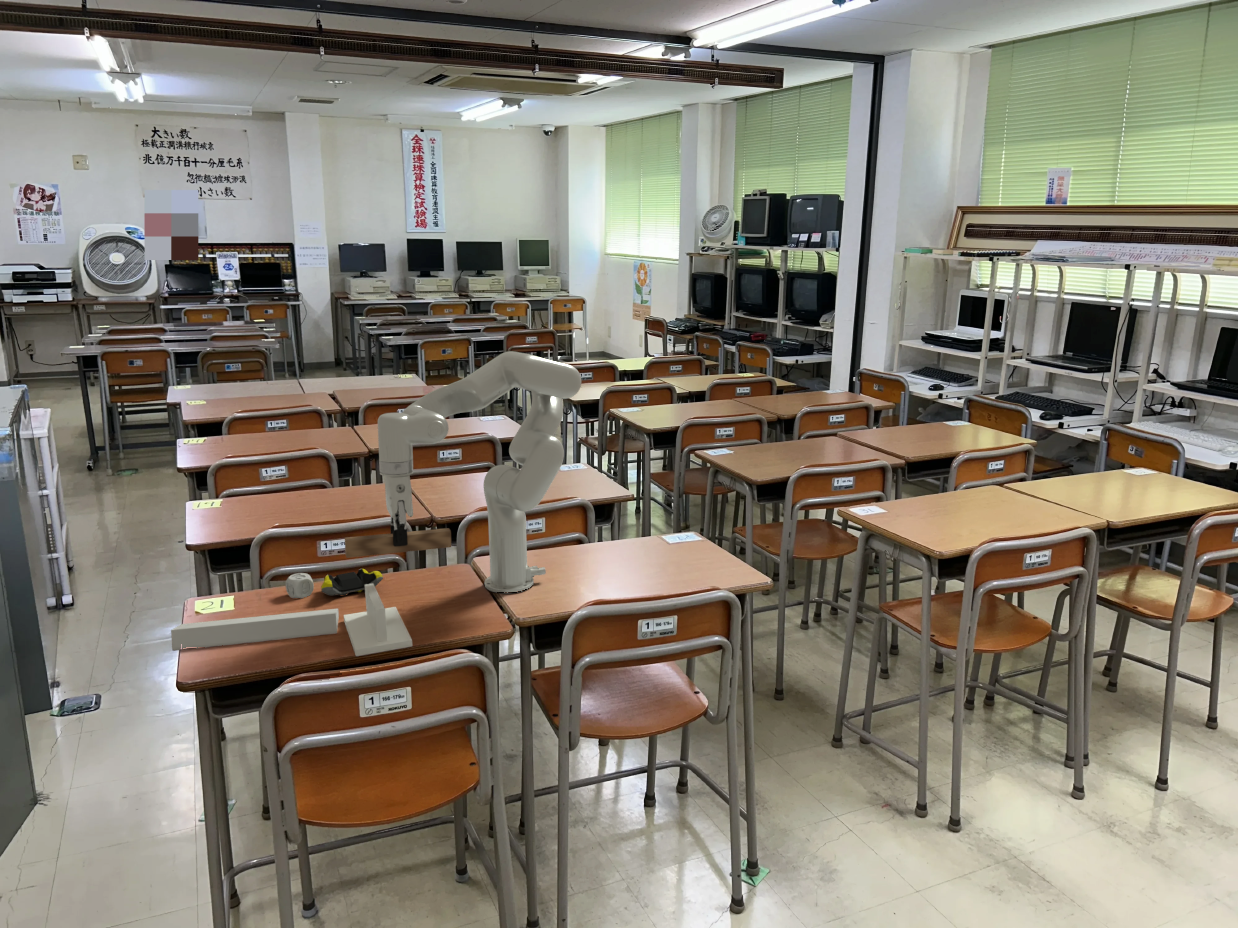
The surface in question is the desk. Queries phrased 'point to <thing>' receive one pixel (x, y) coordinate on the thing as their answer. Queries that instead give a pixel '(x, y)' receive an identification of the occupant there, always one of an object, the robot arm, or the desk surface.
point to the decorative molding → (255, 629)
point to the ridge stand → (376, 627)
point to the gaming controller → (350, 582)
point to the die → (299, 585)
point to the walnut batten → (385, 546)
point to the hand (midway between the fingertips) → (399, 542)
